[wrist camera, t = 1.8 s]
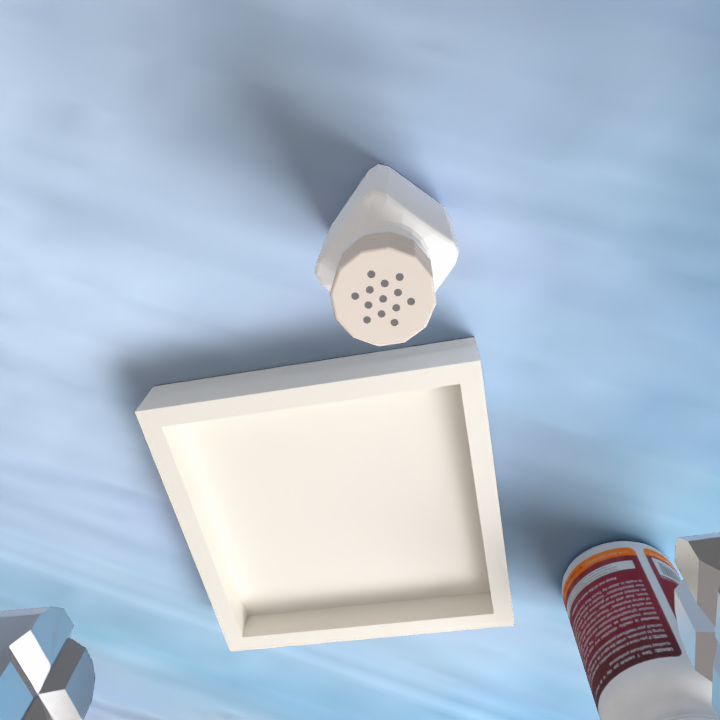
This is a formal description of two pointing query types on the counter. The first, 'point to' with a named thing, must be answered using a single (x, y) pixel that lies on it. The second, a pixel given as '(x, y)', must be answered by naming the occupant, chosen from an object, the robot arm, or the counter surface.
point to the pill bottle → (633, 635)
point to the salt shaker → (386, 258)
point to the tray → (338, 495)
